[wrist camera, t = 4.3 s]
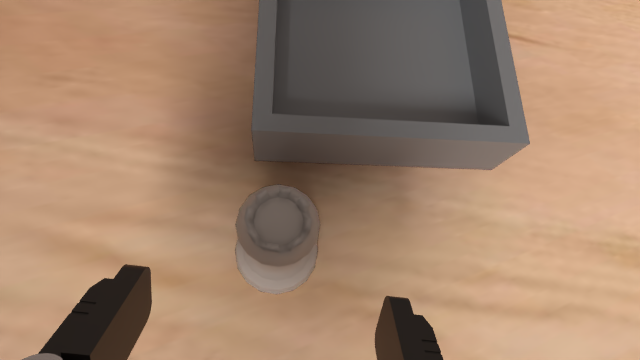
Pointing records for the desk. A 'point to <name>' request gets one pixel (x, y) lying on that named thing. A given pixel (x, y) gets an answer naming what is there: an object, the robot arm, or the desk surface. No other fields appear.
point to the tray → (386, 84)
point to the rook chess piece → (277, 238)
